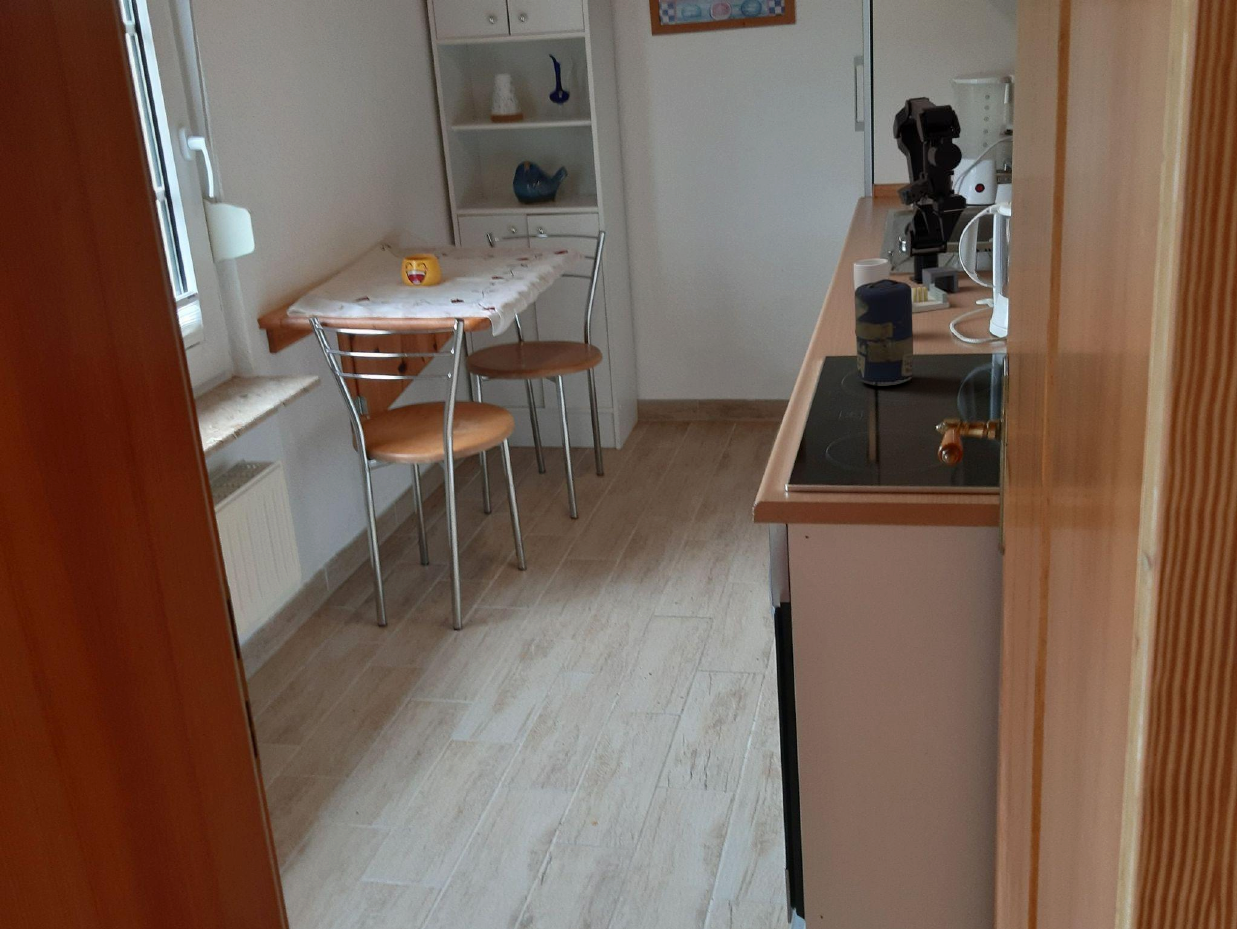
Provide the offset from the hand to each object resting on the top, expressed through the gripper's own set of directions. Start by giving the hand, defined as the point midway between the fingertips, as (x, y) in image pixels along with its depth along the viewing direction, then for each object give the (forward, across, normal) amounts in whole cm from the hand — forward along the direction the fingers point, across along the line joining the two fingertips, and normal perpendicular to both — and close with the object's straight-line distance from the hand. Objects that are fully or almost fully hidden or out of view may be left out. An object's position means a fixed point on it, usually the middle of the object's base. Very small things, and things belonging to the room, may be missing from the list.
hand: (939, 238), depth 263 cm
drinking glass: (+12, +32, -24) cm, 42 cm away
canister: (+12, +63, -31) cm, 71 cm away
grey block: (+12, 0, 0) cm, 12 cm away
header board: (+12, +7, -8) cm, 16 cm away
